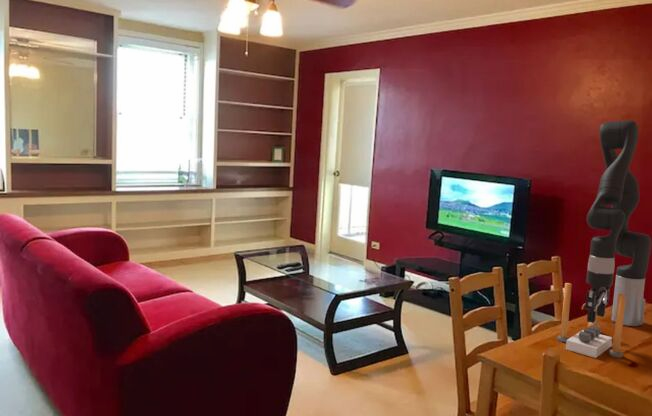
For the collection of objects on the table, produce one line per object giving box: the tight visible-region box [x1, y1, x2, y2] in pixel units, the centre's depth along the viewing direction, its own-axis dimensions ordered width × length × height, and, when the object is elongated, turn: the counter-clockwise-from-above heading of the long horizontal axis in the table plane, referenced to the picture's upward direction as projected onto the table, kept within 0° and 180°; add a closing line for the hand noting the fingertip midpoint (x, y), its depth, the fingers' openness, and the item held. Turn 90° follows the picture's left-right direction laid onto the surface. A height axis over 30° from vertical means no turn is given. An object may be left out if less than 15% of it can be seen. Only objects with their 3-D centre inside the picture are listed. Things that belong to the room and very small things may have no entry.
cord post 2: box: [608, 294, 626, 359], centre depth 167 cm, size 4×4×19 cm
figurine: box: [581, 302, 608, 329], centre depth 187 cm, size 8×6×12 cm
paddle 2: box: [587, 325, 601, 337], centre depth 176 cm, size 2×3×2 cm, turn 45°
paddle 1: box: [578, 330, 591, 343], centre depth 170 cm, size 2×3×2 cm, turn 45°
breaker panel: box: [565, 329, 613, 359], centre depth 174 cm, size 14×9×3 cm, turn 135°
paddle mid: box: [583, 327, 596, 340], centre depth 173 cm, size 2×3×2 cm, turn 45°
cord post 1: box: [557, 282, 573, 344], centre depth 178 cm, size 4×4×19 cm
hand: (595, 319), depth 176 cm, fingers open, 8 cm apart
